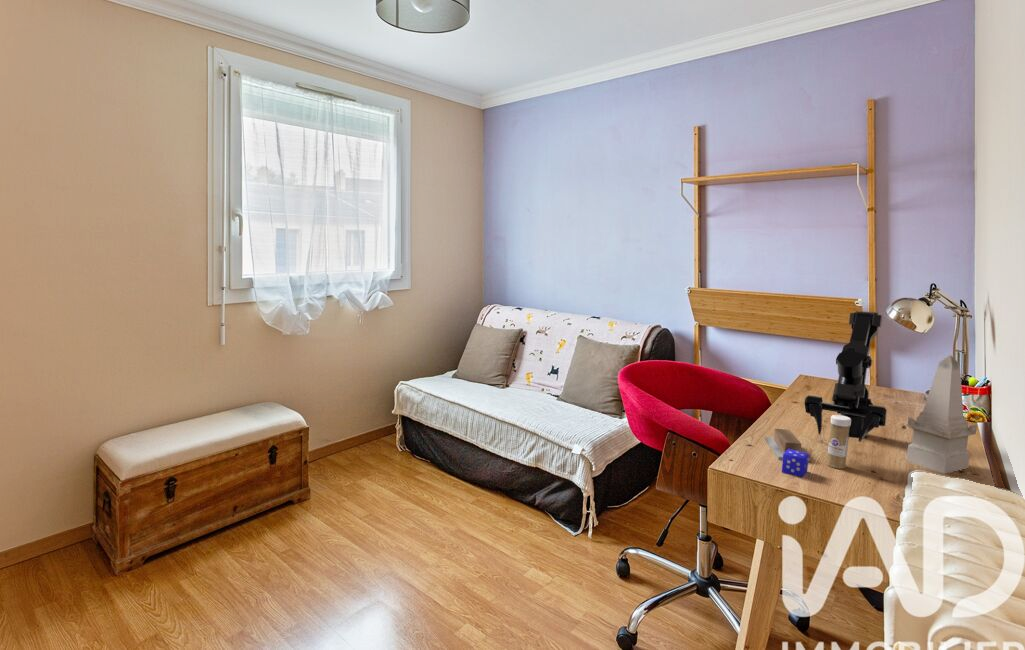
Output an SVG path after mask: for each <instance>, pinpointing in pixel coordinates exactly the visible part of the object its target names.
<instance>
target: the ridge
mask: <svg viewBox="0 0 1025 650" xmlns="http://www.w3.org/2000/svg"><path fill="white" fill-rule="evenodd" d="M764 440H766V441H765V442H766V443H768V444H767V445H768V446H770V447H769V448H770V449H772V450H771V451H772V452H773V455H774V456H775V457H776V458H777V460H779V459H780V460H781V461H783V454H784V453H785V452H786V451H787V449H791V450H796V451H800V452H805V451H804V450H803V448H802V443H801V441H800V440H799V439H798V438H797V437H796V436H795V434H794V433H793V432H792V431H791V430H790V429H786V428H785V429H783V428H774V434H773V437H769V436H768V437H764ZM780 460H779V461H780ZM811 462H812V461H811V458H810V457H809V458H808V463H811Z"/></svg>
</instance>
